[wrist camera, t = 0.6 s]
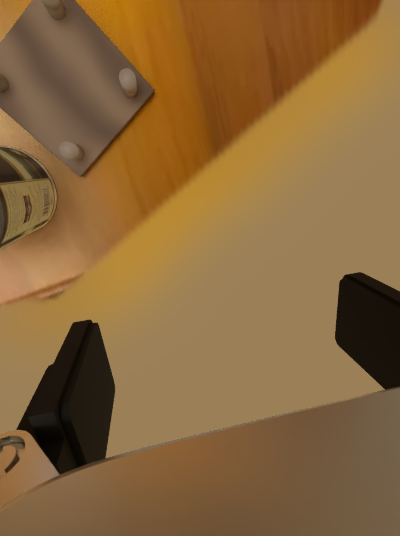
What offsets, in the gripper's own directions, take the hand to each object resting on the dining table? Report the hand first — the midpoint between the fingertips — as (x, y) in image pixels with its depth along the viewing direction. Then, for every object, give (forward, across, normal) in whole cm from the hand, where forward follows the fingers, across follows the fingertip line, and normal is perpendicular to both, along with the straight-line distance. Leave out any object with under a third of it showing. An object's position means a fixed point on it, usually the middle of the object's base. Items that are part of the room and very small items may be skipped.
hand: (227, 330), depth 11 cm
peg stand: (+29, +9, -15) cm, 34 cm away
